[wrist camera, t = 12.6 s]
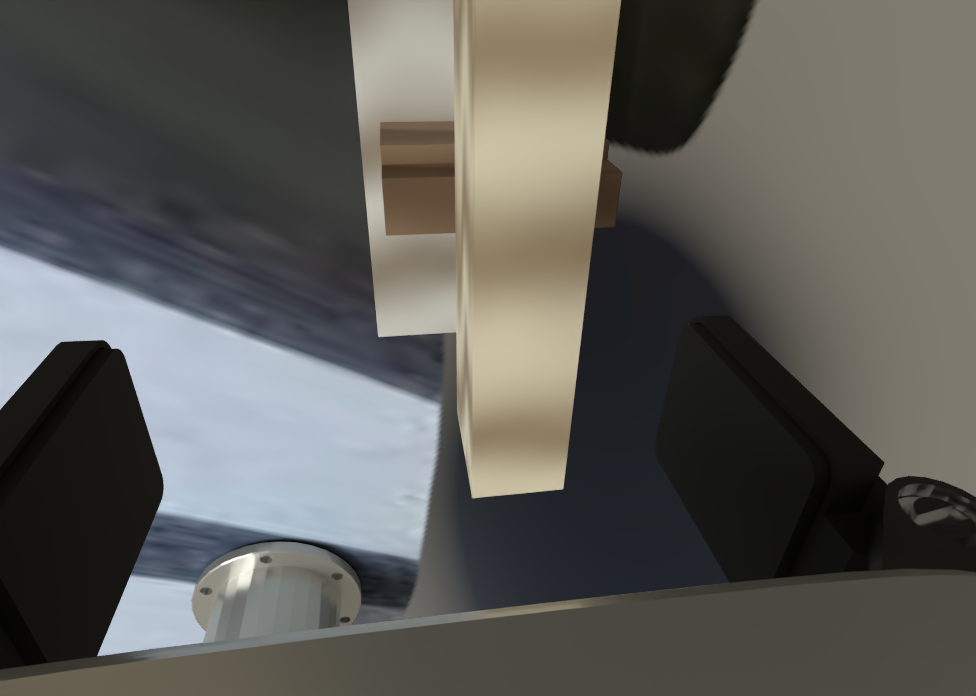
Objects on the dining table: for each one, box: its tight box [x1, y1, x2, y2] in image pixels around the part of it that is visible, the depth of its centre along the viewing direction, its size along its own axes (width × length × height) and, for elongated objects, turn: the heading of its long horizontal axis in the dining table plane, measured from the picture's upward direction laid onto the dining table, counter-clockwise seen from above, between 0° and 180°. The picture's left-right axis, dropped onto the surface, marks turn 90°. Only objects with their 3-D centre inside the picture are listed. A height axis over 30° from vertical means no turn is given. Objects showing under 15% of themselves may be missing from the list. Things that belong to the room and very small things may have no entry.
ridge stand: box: [348, 0, 622, 337], centre depth 29 cm, size 20×12×8 cm, turn 179°
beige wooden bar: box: [453, 0, 621, 498], centre depth 23 cm, size 22×4×6 cm, turn 179°
